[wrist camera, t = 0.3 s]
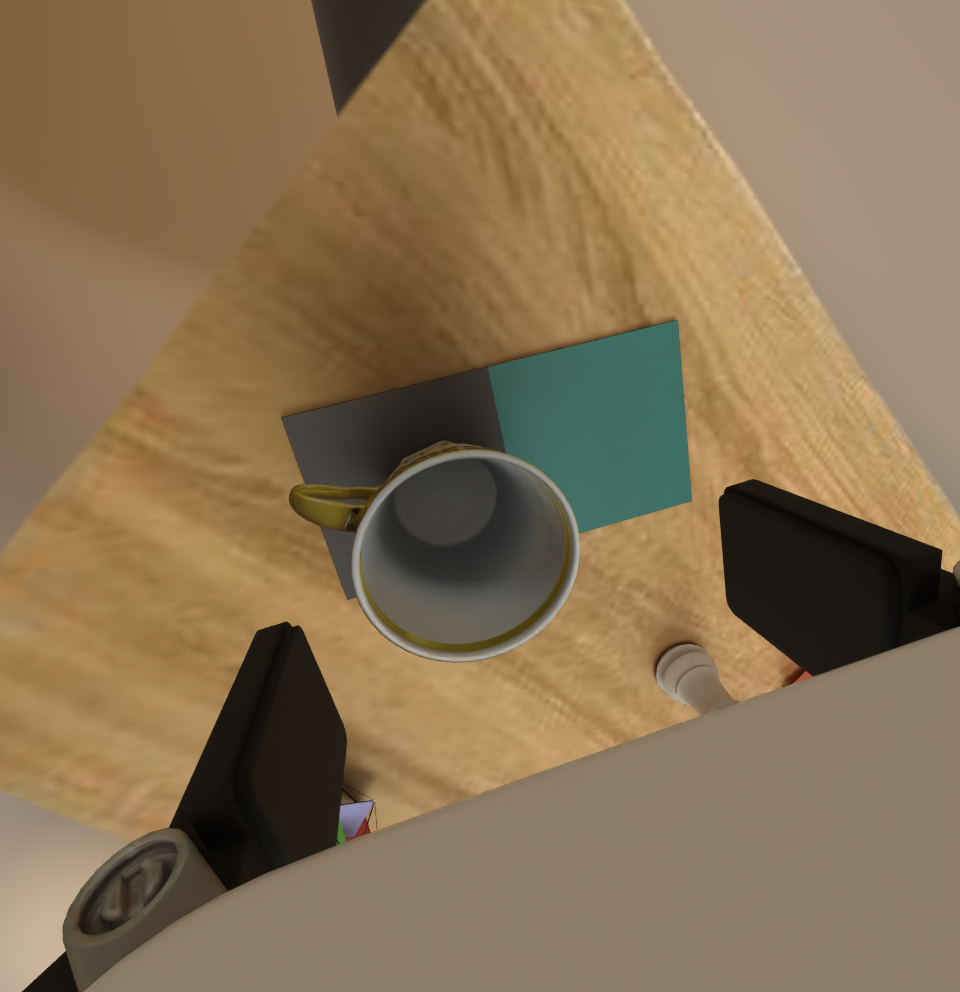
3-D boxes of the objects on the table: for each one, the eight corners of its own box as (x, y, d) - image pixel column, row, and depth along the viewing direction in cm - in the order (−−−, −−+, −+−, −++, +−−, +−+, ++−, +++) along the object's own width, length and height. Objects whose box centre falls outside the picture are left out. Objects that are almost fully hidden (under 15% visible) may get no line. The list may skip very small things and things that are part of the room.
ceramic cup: (547, 446, 31) (618, 494, 21) (488, 584, 33) (528, 683, 24) (341, 368, 27) (317, 385, 18) (290, 529, 29) (246, 619, 20)
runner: (281, 417, 28) (281, 418, 27) (676, 319, 30) (677, 319, 30) (347, 598, 32) (347, 600, 32) (690, 500, 34) (692, 501, 34)
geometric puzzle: (418, 806, 35) (349, 888, 28) (377, 875, 37) (300, 971, 29) (347, 739, 38) (265, 798, 30) (311, 806, 39) (224, 879, 31)
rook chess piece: (649, 651, 37) (715, 730, 30) (703, 633, 38) (781, 706, 30) (656, 696, 39) (720, 782, 31) (708, 678, 39) (783, 759, 32)
